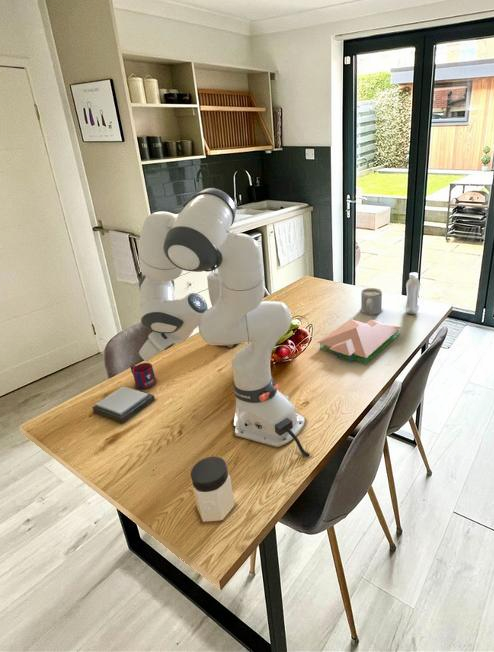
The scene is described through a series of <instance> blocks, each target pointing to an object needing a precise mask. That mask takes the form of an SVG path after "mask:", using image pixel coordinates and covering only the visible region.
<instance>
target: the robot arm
mask: <svg viewBox="0 0 494 652" xmlns="http://www.w3.org/2000/svg"><path fill="white" fill-rule="evenodd" d="M235 219H236V205H235V202H234V200H233V199H232V198H231V197H230V195H229V194H228V193H226V192H224V191H223V190H221V189H218V188H215V187H208V188H205V189H202V190H200V191H199V192H196V193H195V194H194V195H193V196H192V197H191V198H190V199H189V200H187V201H186V202H185V203H184V204H183V208H182V210H181V211H180V212H178V213H172V212H170V211H156V212H153V213H150V214H149V215H148V216H147V217H146V218H145V219H144V222H143V224H142V227H141V229H140V235H139V239H138V262H139V266H140V270H141V273H142V274H143V275H142V276H141V278H140V279H139V281H138V288H139V301H140V303H139V304H140V323H141V324H142V326H143V327H145V329H147V330H149V331H152V332H150V333H149V334H148V335H147V338H148V339H147V340H146V341H145V342H144V343H143V345H142V346H141V348H140V349H139V352H138V355H139V356H140V357H141V359H142V360H143V361H145V362H148V361H150V360H152V359H153V358H155V357H156V356H158V355H160V354H161V353H162V352H164V351H166V350H168V349H170V348H172V347H175V346H177V345H181V344H183V343H185V342H186V341H187V340H188V339H189V338H190V336H191V335H192V334H193V332H194V331H195V330H196V329H197V328H198V333H199V336H200V337H201V338H202V340H203V341H204V342H205V343H206V344H207V345H210V346H211V345H212V346H225V345H226V346H227V345H231V344H234V345H236V344H243V343H244V344H245V343H247V344H246V345H245V346H244V347H242V348H241V349H239V350H238V351H237V352H236V353H235V355H234V356H233V357H232V359H231V369H232V375H233V382H232V389H233V394H234V397H235V413H234V420H233V426H235V428H234V435H235V436H236V437H239V438H243V439H245V440H250V441H253V442H258V443H261V444H264V445H268V446H271V447H276V448H279V447H282V446H284V445H287V444H288V443H290V442H291V441H292V440H294V441H295V444H296V445H297V448H298V449H299V451H300V453H301V454H302V455H303V456H305V457H306V458H308V457H309V456H310V453H309V452H307V451H306V450H305V449H304V448H303V445H302V444H301V442H300V440H299V438H298V437H297V436H298V435H299V434H300V433H301V431H302V430H303V428H304V426H305V423H306V420H305V416H302V415H301V414H299V412H297V410H296V407H295V405H294V404H293V403H292V402H291V399H290V397H289V396H288V395H284V394H283V393H282V392H281V391H280V390H279V389H278V388H279V387H280V385H279V384H280V383H279V382H278V383H277V384H276V382H275V380H274V378H273V376H272V372H271V371H272V370H271V358H272V353H273V350H274V348H275V346H276V345H277V343H278V342H279V341H280V339H281V338H282V337H283V336H285V335H286V334H287V333H288V331H289V330H290V328H291V326H292V312H291V310H290V309H289V307H288V306H287V305H286V303H284V302H283V301H279V300H263V299H264V297H265V293H266V292H265V291H266V290H265V268H264V260H263V256H262V253H261V249H260V246H259V243H258V241H256V239H255V238H253V236H252V235H249V234H247V233H241V232H238V233H237V232H235V233H234V231H232V230H231V227H232V226H233V225H234V222H235ZM216 270H218V276H219V283H220V297H219V299H218V301H217V302H216V303H215V304H214V305H213V306H212V305H211V307H208V304H207V302H206V299H204V297H203V296H202V295H200V294H199V293H196V292H191V293H188V294H187V295H185V296H184V297H180V298H176V295H175V281H174V280H176V279H178V278H180V277H181V275H182V273H183V271H185V272H194V273H201V272H206V273H207V272H214V271H216Z"/></svg>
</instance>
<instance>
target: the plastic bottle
mask: <svg viewBox="0 0 494 652" xmlns="http://www.w3.org/2000/svg"><path fill="white" fill-rule="evenodd" d="M418 278H419V273H418V272H410V273H409V279H408V280H407V281H406V283H405V287H406V300H405V304H404V311H405V312H406V314H410V315H411V314H412V315H413V314H417V313H418V312H419V309H420V306H419V294H420V290H421V289H420V288H421V282H420V280H419V279H418Z"/></svg>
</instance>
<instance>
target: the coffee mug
mask: <svg viewBox="0 0 494 652" xmlns="http://www.w3.org/2000/svg"><path fill="white" fill-rule="evenodd" d="M360 295H361V296H360V297H361V298H360V299H361V300H360V301H361V302H360V303H361V305H360V306H361V307H360V310H361V312H362V313H363V314H366V315H377V314H380V313H381V312H382V304H383V303H382V301H383V291H382V290H381V289H380V288H376V287H367V288H364V289H362V290H361V294H360Z"/></svg>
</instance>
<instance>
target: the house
mask: <svg viewBox="0 0 494 652" xmlns="http://www.w3.org/2000/svg"><path fill="white" fill-rule="evenodd" d="M401 328H402V327H401V326H397V325H393V324H390V323H386V322H382V321H378V320H374V319H370V320H368V321H367V322H362V321H359V320H354V319H351V318H350V319H349V320H347V321H346V322H344V323H343V324H341V325H340V326H339V327H336V329H334V330H333V331H331V332H330V333H329V334H327V335H326V336H324V337H323V338H322V339H320V340H319V341H317V344H319V345H320V350H323V351H326V352H329V353H331V354H335V355H337V356H339V358H340V359H341V360H344V361H347V362H352V361H353V359H352V356H354V358H357V359H355V361H356V362H360V363H362V364H365V365H366V364H367V363H368V362H369V361H370V360H371V359H373V358H374V357H375V356H377V354H378V353H380V351H382V350H383V348H385V346H387V345H388V344H389V343H390V342H391V341H393V339H395V338H396V337H397V336H398V335H399V330H400V329H401ZM327 349H329V350H327ZM344 356H346V357H344ZM346 358H349V359H346ZM361 360H363V361H361Z"/></svg>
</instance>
